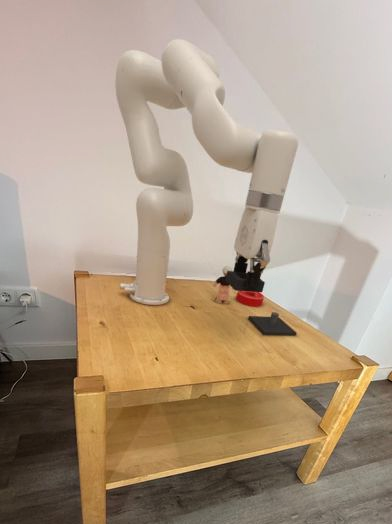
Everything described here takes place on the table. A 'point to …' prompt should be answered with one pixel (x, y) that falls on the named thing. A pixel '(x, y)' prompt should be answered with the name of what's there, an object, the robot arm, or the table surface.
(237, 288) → the top pad
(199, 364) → the table surface
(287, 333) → the base pad
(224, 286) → the grandmother figurine
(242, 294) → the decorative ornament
